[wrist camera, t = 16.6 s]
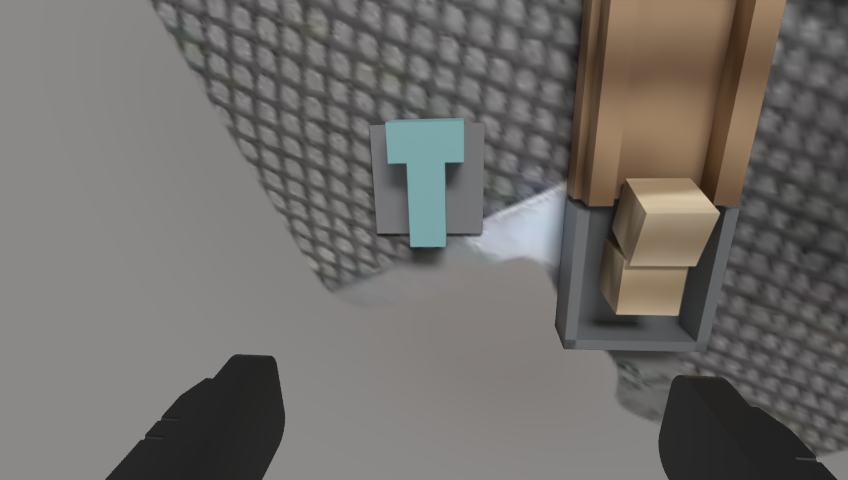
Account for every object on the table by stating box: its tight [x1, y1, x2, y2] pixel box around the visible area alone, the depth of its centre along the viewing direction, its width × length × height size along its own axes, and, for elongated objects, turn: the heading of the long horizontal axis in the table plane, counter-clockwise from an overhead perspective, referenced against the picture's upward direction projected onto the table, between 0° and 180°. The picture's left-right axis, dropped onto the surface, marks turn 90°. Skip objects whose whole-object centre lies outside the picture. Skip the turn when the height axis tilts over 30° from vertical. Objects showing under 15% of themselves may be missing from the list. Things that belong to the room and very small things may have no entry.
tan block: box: [598, 239, 688, 316], centre depth 30 cm, size 4×4×4 cm
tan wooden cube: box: [612, 178, 720, 266], centre depth 27 cm, size 4×4×4 cm
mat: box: [370, 123, 485, 233], centre depth 31 cm, size 8×8×1 cm
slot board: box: [567, 0, 786, 206], centre depth 25 cm, size 17×10×4 cm, turn 2°
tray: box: [555, 198, 740, 352], centre depth 31 cm, size 11×10×3 cm
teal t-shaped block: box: [385, 118, 464, 247], centre depth 29 cm, size 2×5×8 cm
